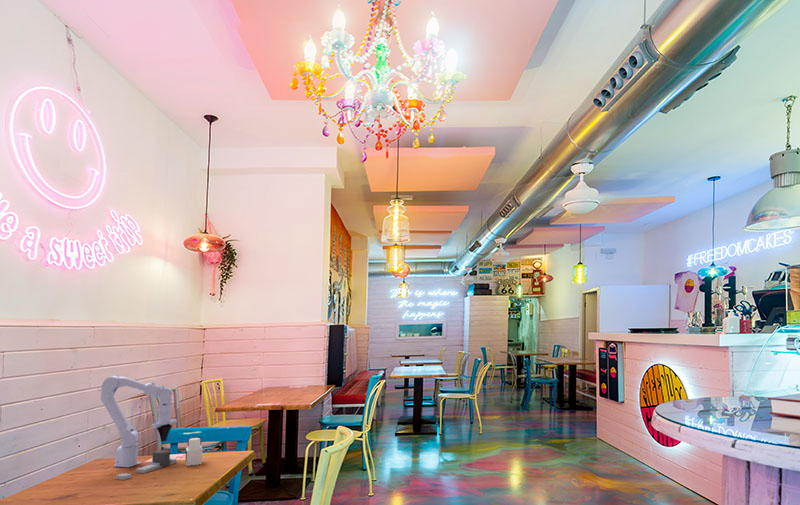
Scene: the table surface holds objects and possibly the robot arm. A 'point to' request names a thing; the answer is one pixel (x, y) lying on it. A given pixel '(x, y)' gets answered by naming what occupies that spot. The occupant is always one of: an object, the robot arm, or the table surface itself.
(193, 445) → the medicine bottle
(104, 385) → the robot arm
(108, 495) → the table surface
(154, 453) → the grey tapered block
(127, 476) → the flanged white bar
